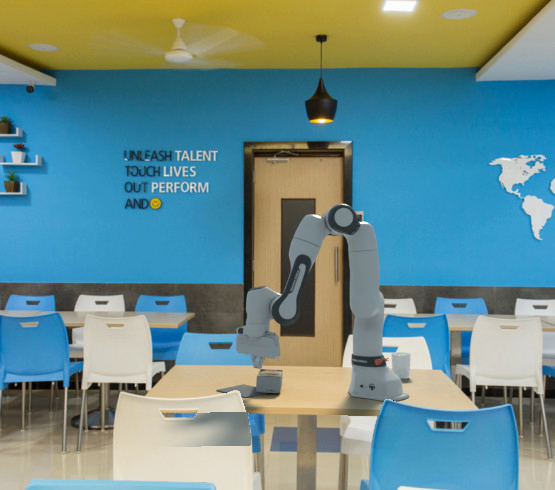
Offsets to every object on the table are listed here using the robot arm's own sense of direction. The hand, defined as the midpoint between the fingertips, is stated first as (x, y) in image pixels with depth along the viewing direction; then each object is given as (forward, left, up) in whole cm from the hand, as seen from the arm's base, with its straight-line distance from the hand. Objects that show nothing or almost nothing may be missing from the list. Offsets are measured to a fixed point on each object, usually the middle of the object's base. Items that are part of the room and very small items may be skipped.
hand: (257, 368), depth 214 cm
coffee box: (-4, -2, -6) cm, 7 cm away
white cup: (-21, -64, -10) cm, 68 cm away
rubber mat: (+7, 0, -10) cm, 12 cm away
